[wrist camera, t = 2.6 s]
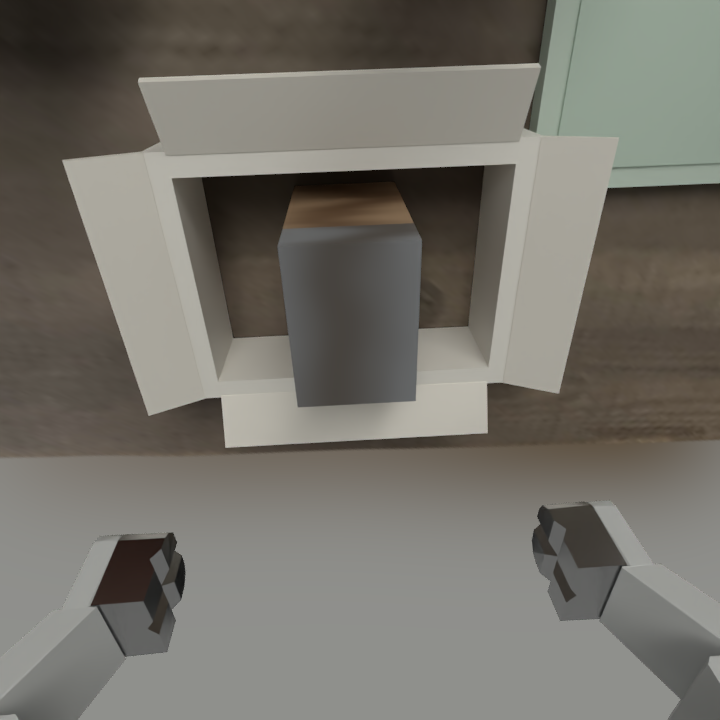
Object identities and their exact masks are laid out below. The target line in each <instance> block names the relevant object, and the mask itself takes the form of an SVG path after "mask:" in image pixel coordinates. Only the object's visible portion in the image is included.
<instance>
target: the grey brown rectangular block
mask: <svg viewBox="0 0 720 720" xmlns="http://www.w3.org/2000/svg"><path fill="white" fill-rule="evenodd" d="M421 254H422V239H421V237H420V235H419V233H418V231H417V229H416V226H415V224H414V222H413V220H412V218H411V216H410V214H409V212H408V210H407V208H406V205H405V203H404V201H403V199H402V197H401V195H400V193H399V191H398V189H397V187H396V184H395V182H376V183H353V184H329V185H306V186H295V187H294V190H293V194H292V197H291V201H290V204H289V208H288V211H287V215H286V218H285V222H284V225H283V229H282V233H281V236H280V240H279V243H278V255H279V263H280V271H281V279H282V287H283V295H284V303H285V310H286V318H287V326H288V334H289V342H290V350H291V358H292V366H293V374H294V382H295V390H296V397H297V405H298V407H315V406H334V405H352V404H371V403H390V402H408V401H416V381H417V355H418V330H419V305H420V279H421Z"/></svg>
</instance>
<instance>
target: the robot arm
mask: <svg viewBox="0 0 720 720" xmlns="http://www.w3.org/2000/svg"><path fill="white" fill-rule="evenodd" d="M537 517H538V519H539V521H540V525H539V526H538V527H537V528H536V529H534V533H533V538H532V545H533V554H534V557H535V561H536V564H537V567H538V569H539V571H540V573H541V574H542V575H544V576H545V577H546V578H547V579H548V580H550V581H551V582H550V585H549V589H548V593H549V595H550V598H551V600H552V602H553V605H554V607H555V610H556V612H557V614H558V617H559V619H560V621H565V620H586V619H600V622H601V623H602V624H603V625H604V626H605V627H606V628H607V629H608V630H609V631H610V632H611V633H612V634H613V635H615V636H616V637H617V638H618V639H619V640H620V641H621V642H622V643H623V644H624V645H625V646H626V647H627V648H628V649H629V650H630V651H631V652H632V653H633V654H634V655H635V656H636V657H638V659H640V661H642V662H643V663H644V664H645V665H646V666H647V667H648V668H649V669H650V670H651V671H652V672H653V673H654V674H655V675H656V676H657V677H658V678H659V679H660V680H661V681H662V682H663V683H664V684H666V686H667V687H668V688H670V689H671V690H672V691H673V692H674V693H675V694H676V695H677V696H678V697H679V698H680V699H681V700H680V701H679V703H678V704H677V706H676V707H675V709H674V710H673V712H672V713H671V715H670V716H669V718H668V720H720V603H719V602H717V601H716V600H714V599H713V598H711V597H710V596H708V595H707V594H705V593H704V592H702V591H701V590H699V589H698V588H696V587H695V586H693V585H692V584H690V583H689V582H687V581H686V580H684V579H683V578H682V577H680V576H679V575H677V574H676V573H674V572H673V571H671V570H669V569H668V568H667V567H665V566H664V565H662V564H654V563H653V562H652V560H651V559H650V557H649V555H648V554H647V553H646V551H645V549H644V548H643V546H642V545H641V543H640V542H639V540H638V539H637V537H636V536H635V535H634V533H633V531H632V530H631V528H630V527H629V525H628V524H627V522H626V521H625V519H624V518H623V516H622V515H621V513H620V512H619V510H618V509H617V507H616V506H615V504H614V503H612V502H611V501H610V500H608V501H596V502H595V501H594V502H575V503H563V504H551V505H542V507H541V508H540V509H539V512H538V516H537ZM176 544H177V541H176V539H175V537H174V534H173V533H150V534H127V535H111V536H100V537H99V538H98V539H97V540H96V541H95V542H94V543H93V545H92V547H91V549H90V551H89V553H88V555H87V557H86V559H85V561H84V564H83V565H82V568H81V570H80V572H79V574H78V576H77V578H76V580H75V582H74V584H73V586H72V588H71V591H70V593H69V595H68V597H67V599H66V601H65V603H64V605H63V607H62V609H57V610H53V611H52V612H51V613H50V614H49V615H48V616H46V617H45V618H44V619H43V620H42V621H41V622H40V623H39V624H38V625H36V626H35V627H34V628H33V629H32V630H31V631H29V633H27V634H26V635H25V636H24V637H23V638H21V639H20V640H19V641H18V642H17V643H16V644H15V645H13V646H12V647H11V648H10V649H9V650H8V651H7V652H6V653H4V654H3V655H2V656H1V657H0V720H78V718H79V717H80V716H81V715H82V713H83V712H84V711H85V710H86V708H87V707H88V706H89V705H90V703H91V702H92V701H93V700H94V698H95V697H96V696H97V694H98V693H99V692H100V691H101V690H102V688H103V687H104V686H105V685H106V683H107V682H108V681H109V680H110V678H111V677H112V676H113V674H114V673H115V672H116V671H117V670H118V668H119V667H120V666H121V665H122V663H123V662H124V661H125V657H127V656H136V655H144V654H154V653H163V652H167V650H168V647H169V643H170V639H171V636H172V632H173V628H174V624H175V621H176V620H175V617H174V615H173V612H172V609H173V608H174V607H175V606H176V605H177V604H178V603H179V602H180V600H181V598H182V594H183V590H184V583H185V565H184V560H183V558H182V555H180V554H179V553H177V552H176V551H175V548H176Z"/></svg>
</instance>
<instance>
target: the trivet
mask: <svg viewBox="0 0 720 720" xmlns="http://www.w3.org/2000/svg"><path fill="white" fill-rule="evenodd" d="M539 64H540V66H541V70H540V73H539V76H538V80H537V83H536V87H535V92H534V99H533V106H532V113H531V120H530V127H529V130H530V131H532V132H535V133H537V134H540V135H545V136H588V137H619V141H618V145H617V150H616V154H615V158H614V162H613V167H612V171H611V175H610V179H609V184H608V188H619V187H642V186H665V185H688V184H711V183H720V0H548V1H547V8H546V15H545V22H544V29H543V36H542V43H541V50H540V57H539Z"/></svg>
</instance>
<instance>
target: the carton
mask: <svg viewBox="0 0 720 720" xmlns="http://www.w3.org/2000/svg"><path fill="white" fill-rule="evenodd" d="M540 70H541V66H540V64H539V63H530V64H503V65H476V66H449V67H422V68H394V69H367V70H340V71H313V72H286V73H258V74H231V75H204V76H177V77H150V78H139V80H138V85H139V87H140V90H141V92H142V95H143V97H144V100H145V103H146V105H147V108H148V110H149V113H150V116H151V118H152V121H153V123H154V126H155V129H156V131H157V134H158V136H159V139H160V142H159V143H157V144H155V145H153V146H152V147H150V148H148V149H146V150H144V151H142V152H134V153H124V154H115V155H105V156H95V157H86V158H76V159H67V160H62V161H63V164H64V167H65V170H66V173H67V176H68V179H69V182H70V185H71V188H72V191H73V194H74V197H75V200H76V203H77V206H78V209H79V212H80V214H81V217H82V220H83V223H84V226H85V229H86V232H87V235H88V238H89V241H90V244H91V247H92V250H93V253H94V256H95V259H96V262H97V265H98V268H99V271H100V273H101V276H102V279H103V282H104V285H105V288H106V291H107V294H108V297H109V300H110V303H111V306H112V309H113V312H114V315H115V318H116V321H117V324H118V327H119V330H120V332H121V335H122V338H123V341H124V344H125V347H126V350H127V353H128V356H129V359H130V362H131V365H132V368H133V371H134V374H135V377H136V380H137V383H138V386H139V388H140V391H141V394H142V397H143V400H144V403H145V406H146V409H147V412H148V415H149V416H150V415H153V414H156V413H160V412H163V411H166V410H169V409H173V408H176V407H179V406H183V405H186V404H189V403H193V402H196V401H199V400H203V399H205V398H220V397H221V400H222V412H223V423H224V435H225V446H226V448H229V447H247V446H265V445H283V444H301V443H319V442H336V441H354V440H372V439H390V438H408V437H426V436H444V435H462V434H480V433H488V424H487V383H501V382H503V383H506V384H511V385H516V386H522V387H527V388H532V389H537V390H543V391H548V392H553V393H558V394H559V391H560V386H561V382H562V378H563V374H564V370H565V365H566V361H567V357H568V353H569V348H570V344H571V340H572V336H573V331H574V327H575V323H576V319H577V315H578V310H579V306H580V302H581V298H582V293H583V289H584V285H585V281H586V277H587V272H588V268H589V264H590V260H591V255H592V251H593V247H594V243H595V238H596V234H597V230H598V226H599V222H600V217H601V213H602V209H603V205H604V200H605V196H606V192H607V188H608V184H609V179H610V175H611V171H612V167H613V162H614V158H615V154H616V150H617V145H618V141H619V137H588V136H545V135H540V134H537V133H535V132H532V131H530V130H527V129H525V128H523V127H524V124H525V121H526V117H527V114H528V110H529V107H530V104H531V100H532V97H533V93H534V90H535V87H536V83H537V80H538V76H539V73H540ZM477 165H484V175H483V185H482V194H481V204H480V214H479V224H478V234H477V243H476V253H475V263H474V273H473V283H472V292H471V302H470V312H469V322H468V326H466V327H446V328H426V329H419V330H418V355H417V381H416V401H408V402H390V403H371V404H352V405H334V406H315V407H298V405H297V397H296V390H295V382H294V374H293V366H292V358H291V350H290V342H289V335H287V336H267V337H247V338H233V334H232V329H231V324H230V319H229V314H228V309H227V304H226V299H225V294H224V289H223V284H222V279H221V274H220V268H219V263H218V258H217V253H216V248H215V243H214V238H213V233H212V228H211V223H210V218H209V213H208V208H207V203H206V197H205V192H204V187H203V182H202V177H215V176H239V175H263V174H287V173H311V172H334V171H358V170H382V169H406V168H430V167H454V166H477Z"/></svg>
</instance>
